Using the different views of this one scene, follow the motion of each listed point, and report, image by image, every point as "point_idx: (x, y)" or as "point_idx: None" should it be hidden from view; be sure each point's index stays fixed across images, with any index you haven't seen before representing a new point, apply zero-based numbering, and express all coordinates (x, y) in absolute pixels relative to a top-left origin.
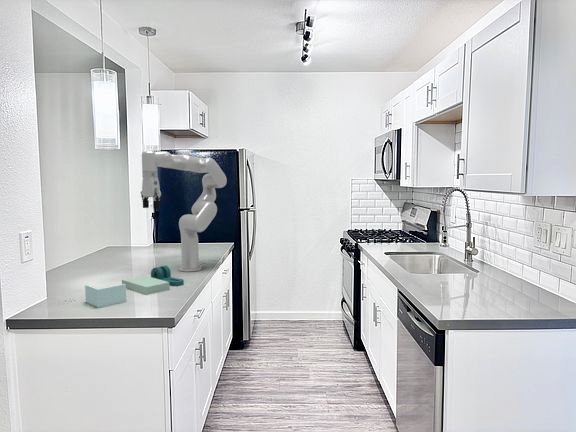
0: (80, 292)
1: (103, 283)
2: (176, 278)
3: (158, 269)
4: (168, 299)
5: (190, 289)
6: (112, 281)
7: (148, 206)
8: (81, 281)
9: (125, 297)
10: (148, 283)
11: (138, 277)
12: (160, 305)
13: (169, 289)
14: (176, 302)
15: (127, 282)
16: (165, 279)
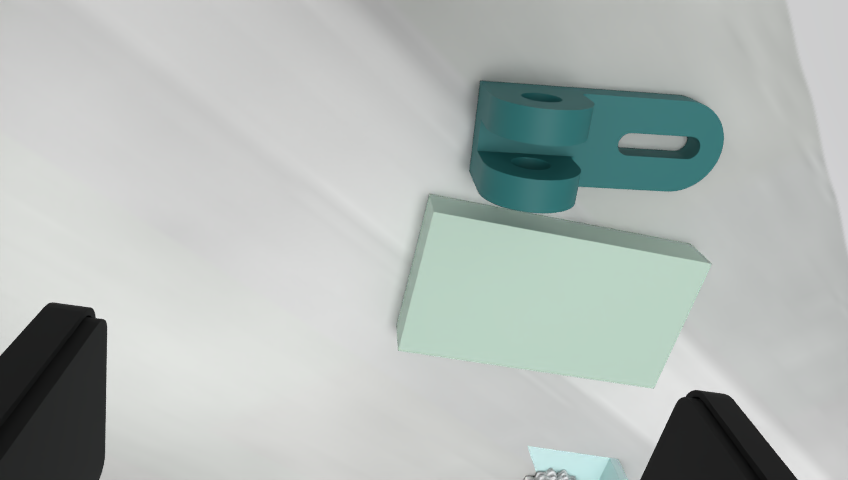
0: (298, 472)
1: (225, 325)
2: (646, 106)
3: (564, 205)
4: (784, 366)
5: (807, 189)
6: (225, 271)
7: (89, 342)
8: None
9: (623, 475)
10: (612, 336)
11: (445, 267)
12: (795, 432)
13: (690, 244)
14: (843, 379)
15: (464, 357)
16: (590, 162)
